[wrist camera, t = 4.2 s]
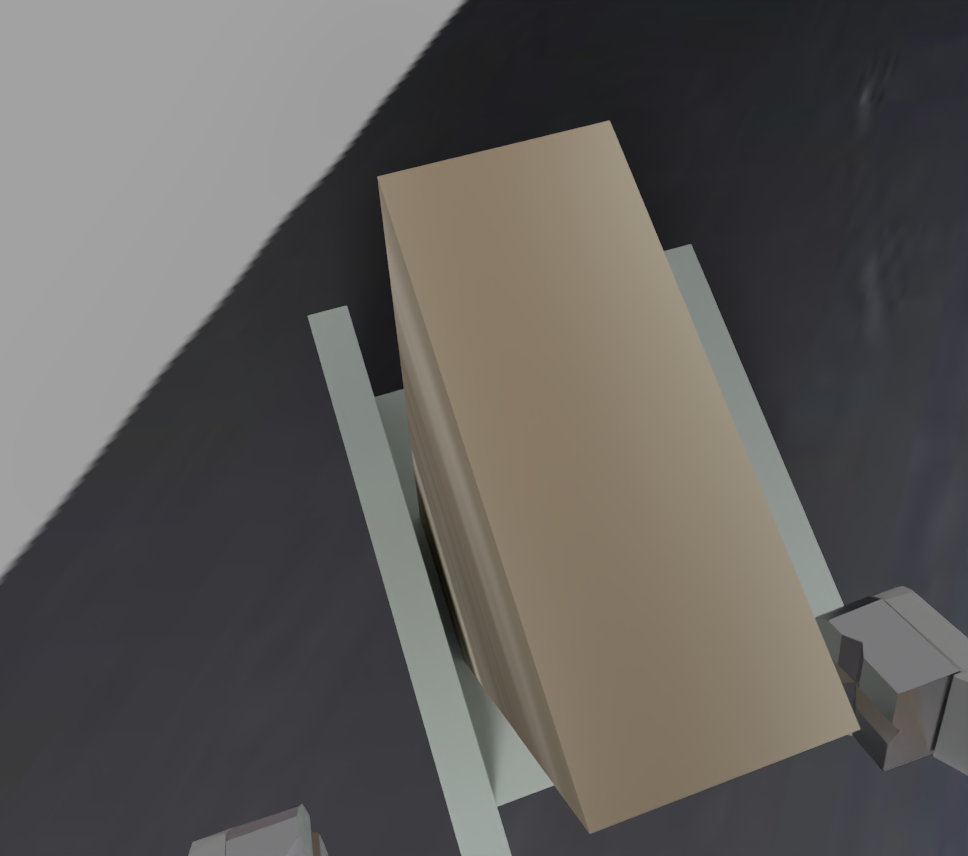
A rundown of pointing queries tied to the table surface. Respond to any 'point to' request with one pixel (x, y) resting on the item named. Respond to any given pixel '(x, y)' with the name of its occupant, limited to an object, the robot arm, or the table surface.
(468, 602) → the birch board
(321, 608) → the table surface
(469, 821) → the offcut rack
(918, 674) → the robot arm
